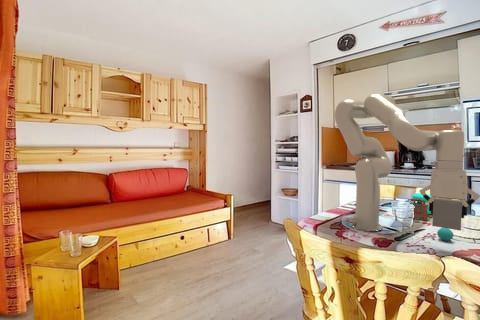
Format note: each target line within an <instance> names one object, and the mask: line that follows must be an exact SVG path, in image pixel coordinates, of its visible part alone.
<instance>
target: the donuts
mask: <svg viewBox="0 0 480 320" xmlns="http://www.w3.org/2000/svg"><path fill="white" fill-rule="evenodd" d="M426 194H427V195H428V196H429V197H430V198H431V195H430V193H429V194H428V193H426ZM411 196H412V197H411V198H414V199H421V200H426V199H425V198H424V197H423V196H422V194H421V193H420V192H417V193H413V194H412V195H411ZM425 203H429V202H428V201H427V200H426V202H425ZM427 215H432V214H431V211H429V205H428V211H427Z"/></svg>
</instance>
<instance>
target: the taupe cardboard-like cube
mask: <svg viewBox="0 0 480 320" xmlns="http://www.w3.org/2000/svg"><path fill="white" fill-rule="evenodd" d="M462 206H463V204H462V202H461V201H460V200H456V199H446V198H435V199H434V201H433V214H432V220H431V221H432V224H431V226H432V227H436V228H448V229H450V230H453V231H454V230H455V231H460V232H461V231H462V219H463V218H462Z"/></svg>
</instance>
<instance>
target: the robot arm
mask: <svg viewBox="0 0 480 320" xmlns="http://www.w3.org/2000/svg"><path fill="white" fill-rule="evenodd" d="M396 103H397V102H396V100H395V99H394V98H393V97H392V95H391V96H390V95H386V94H382V93H372V94H370V95H368V96H367V97H366V98H365V99H364V100H358V99H351V98H348V99H344V100H342V101H340V102H339V103H338V104H337V106H336V107H335V110H334V121H335V123H336V126H337V128H338V130H339V131H340V133H341V135H342V137H343V140H344V142H345V144H346V146H347V148H348V150H349V153H350V154H351V155H352V156H353V157H355V158H361V159H359V160H358V161H357V162H356V163H355V166H354V173H355V180H356V196H355V198H356V199H355V200H356V201H355V215H353V216H351V217H344V219H343V220H344V222H346V223H349V224H351V227H352V226H354V227H355V228H354V227H353V228H354V229H356V228H357V229H356V230H360V231H362V232H363V231H364V232H370V231H376V230H380V229H382V230H383V225H381V224H380V223H379V222H380V221H379V220H380V202H381V201H380V200H381V186H380V182H379V179H380V178H381V179H382V178H386V177H388V176H389V175H390V174H391V173H392V170H393V167H392V162H391V160H390V158H389V156H388V154H387V152H386V151H385V149H384V147H383V144H382V143H381V142H380V141H379V139H377V138H376V137H372V136H366V135H365V134H364V132H363V130H362V128H361V126H360V125H359V124H358V122H357V121H356V120H355V119H360V120H361V119H370V118H375V119H376V120H378V121H380V122H381V123H382V124H383V125H384V126H386V127H387V130H388V131H389V133H390V134H391V136H392V137H393V138H394V139H396V140H397V141H398V142H399V143H401V144H402V145H403V146H404V147H406V148H407V149H409V150H411V151H414V152H421V151H422V152H431V151H435V160H434V161H430V166H432V167H435V168H433V169H432V171H431V175H430V183H429V185H428V186H425V187H423V188H421V189H419V190H418V191H419V192H418V193H421V194H422V196H423V197H424V198H425V199H426V200H427V201H428V202H427V203H428V206H429V211H431V214H430V215H433V201H434V199H435V198H442V199H451V200H460V201H461V202H462V218H461V219H465V216H466V217H467V216H468V207H469V206H470V205H471V206H472V204H474V203H475V202H476V201H477V200H479V198H480V194H478V193H477V192H476V191H474V190H472V189H471V188H469V186H468V175H467V171H466V169H464V157H465V156H464V154H465V153H464V152H465V133H464V131H463V130H461V129H444V130H439V131H437V130H424V129H419V128H418V127H417V126H415V125H414V124H412V123H411V122H409V121H408V120H407V119H406V111H405V110H404V109H403V108H401V107H400V106H398V105H397V104H396ZM427 191H429V194H430V195H431V198H430V197H429V196H428V195H427V194H428V193H426V192H427ZM468 194H469V195H471V196H472V197H471V198H469V199H468V200H466V199H467V197H468Z"/></svg>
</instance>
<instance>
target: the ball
mask: <svg viewBox="0 0 480 320" xmlns="http://www.w3.org/2000/svg"><path fill="white" fill-rule="evenodd" d="M436 233H437V236H438V238H439V239H440V240H441V241H445V242H450V241H451V240H452V239H453V238H454V232H453V231H452V229H448V228H442V227H439V229H438V230H437V232H436Z"/></svg>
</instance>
